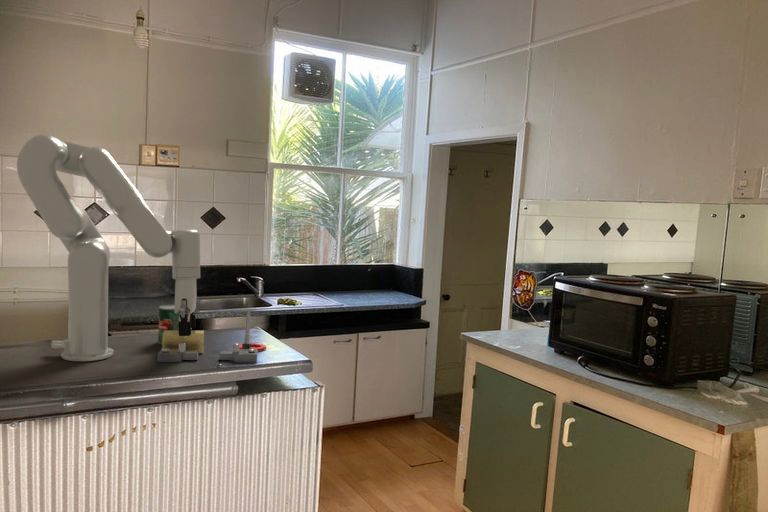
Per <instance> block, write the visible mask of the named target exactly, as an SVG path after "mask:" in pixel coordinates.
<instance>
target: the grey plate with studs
mask: <svg viewBox="0 0 768 512" xmlns="http://www.w3.org/2000/svg"><path fill="white" fill-rule="evenodd" d="M239 348H240V343H239V342H235V343H234V342H233V343H232V350H220V353H219V361H220V360H230V361H229V362H231V361H232V362H234V363H257V362H258V352H257V350H258V349H239ZM197 359H198V360H199V351H186V343H179V349H169V348H163V349H162V348H161V349H160V350H159V351H158V353H157V363H182V360H197ZM198 360H197V361H198Z"/></svg>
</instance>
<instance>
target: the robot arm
mask: <svg viewBox="0 0 768 512" xmlns="http://www.w3.org/2000/svg"><path fill="white" fill-rule="evenodd" d="M16 171H17V175H18V180H19V181H20V184H21V186H22V187H23V189H24V191H25V192H26V195H28V197H29V199H30V201H31V202H32V204H33V206H34V208H35V209H36V210H37V212H38V214H39V215H40V217H41V218H42V220H43V221H44V223H45V225H46V227H47V229H48V231H49V232H50V233H51V235H52V236H55V237H56V238H58V239H59V240H60V241H61V242H62V244H63V245H64V248H65V249H66V250H67V252H68V258H67V274H68V278H67V279H68V293H67V294H68V321H67V323H68V326H67V327H68V328H67V329H68V331H67V336H68V337H67V339H65V340H52V341H51V343H50V346H51V348H53V350H61V349H62V350H63V351H62V352H61V354H60V355H61V359H63V360H65V361H69V362H70V361H71V362H94V361H100V360H101V361H102V360H104V359H105V360H106V359H108V358H111V357H112V356H113V355H114V349H113V348H111V347H108V337H109V336H108V332H109V330H108V329H109V327H108V326H109V267H110V266H109V265H110V264H109V263H110V259H111V250H110V248H109V246H108V244H107V242H106V241H105V239H104V238H103V236H102V234H101V232H100V231H99V229H98V228H97V225H96V224H95V223H94V222H93V220H92V219H91V217H90V216H89V214H88V212H87V211H86V210H85V209H84V208H83V207H82V206H80V205H78V204H76V202H75V201H74V200H73V197H71V195H70V193H69V192H68V190H67V188H66V186H65V184H63V182H62V180H61V178H59V175H58V173H57V172H60V173H65V174H70V175H73V176H78V177H82V178H86V179H87V181H88V182H89V183H90V184H91V186H92V187H93V188H94V190H95V191H96V192H97V193H98V194H99V196H100V197H101V198H102V199H103V201H104V203H106V205H107V206H108V207H109V210H111V211H112V213H113V214H114V216H116V217H117V219H119V221H120V222H121V223H122V224H123V225H124V227H126V230H128V232H129V233H130V235H131V236H133V238H134V239H135V240H136V242H137V243H138V245H139V246H140V247H141V248H142V250H143V251H144V252H145V253H146V254H147V255H148V256H149V257H152V258H156V259H157V258H158V259H159V258H163V257H166V256H167V255H168V254H171V257H172V258H171V259H172V261H171V262H172V264H171V265H172V266H171V267H172V272H171V273H172V279H173V280H175V284H174V286H175V287H174V305H175V313H176V314H178V313H179V312H180V314H179V336H190V335H191V331H192V329H195V328H196V309H197V297H198V296H197V280H198V279H201V237H200V232H199V231H198V230H197V229H189V228H188V229H187V228H186V229H185V228H184V229H176V230H174V229H165V227H163V226H162V224H161V223H160V221H158V219H157V218H156V216H155V215H154V213H153V212H152V211H151V210H150V208H149V206H148V205H147V204H146V202H145V200H144V198H143V195H141V193H140V192H139V190H138V189H137V188H136V186H135V185H134V184H133V182H132V181H131V180H130V178H129V177H128V176H127V175H126V174H125V172H124V171H123V169H122V168H121V167H120V165H119V164H118V163H117V161H116V160H115V159H114V156H112V155H111V153H110V152H108V150H106V149H105V148H102V147H99V146H91V147H90V146H85V145H82V144H76V143H73V142H69V141H66V140H61V139H59V138H57V137H55V136H53V135H52V134H51V135H50V134H46V133H43V134H37V135H34V136H32V137H31V138H30V139H28V140H27V141H26V142H25V144H23V145H22V148H21V149H20V151H19V153H18V156H17V161H16Z"/></svg>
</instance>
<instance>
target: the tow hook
mask: <svg viewBox="0 0 768 512" xmlns="http://www.w3.org/2000/svg"><path fill="white" fill-rule="evenodd" d="M246 313H247V314H246V317H245V333H244V340H243V343H241V344H240V343H239V344H240V348H239V349H258V350H257V353H259V352H261V351H265V350H266V349H267V346H266V345H265V344H262V343H256V342H255V343H252V342H251V341H250V340H251V335H250V330H251V329H250V328H251V308H247V311H246Z"/></svg>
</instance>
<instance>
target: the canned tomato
mask: <svg viewBox="0 0 768 512" xmlns="http://www.w3.org/2000/svg"><path fill="white" fill-rule="evenodd" d="M179 314H180V312H179V313H178V314H176V313H175V304H163V305H159V306H158V331H157V332H158V337H157V339H158V341H157V342H158V344H159V345H162V334H163V332H164V331H179Z"/></svg>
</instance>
